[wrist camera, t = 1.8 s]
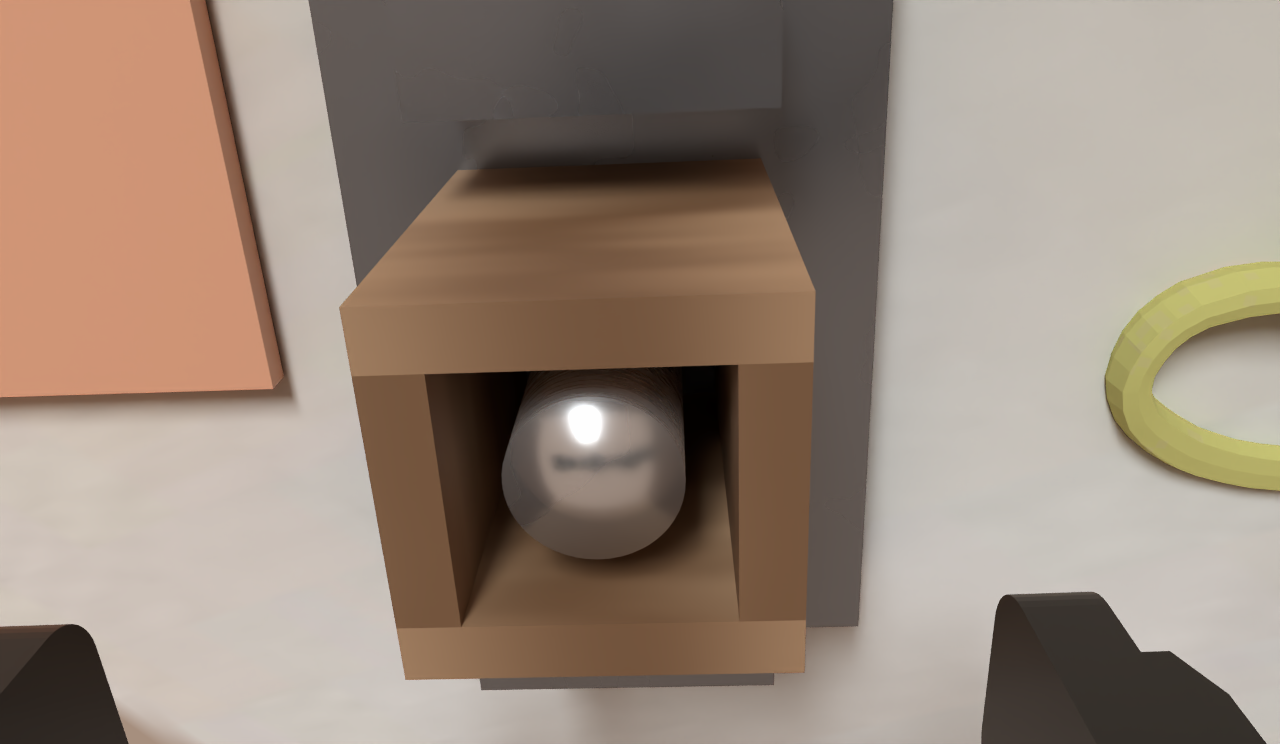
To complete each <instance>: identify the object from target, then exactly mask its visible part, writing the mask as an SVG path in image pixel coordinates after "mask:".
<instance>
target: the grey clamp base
mask: <svg viewBox="0 0 1280 744" xmlns="http://www.w3.org/2000/svg"><path fill="white" fill-rule="evenodd" d="M309 5H310V11H311V17H312V23H313V29H314V35H315V41H316V47H317V53H318V59H319V65H320V71H321V76H322V82H323V88H324V94H325V100H326V106H327V112H328V118H329V124H330V130H331V136H332V142H333V147H334V153H335V159H336V165H337V171H338V177H339V183H340V189H341V195H342V201H343V207H344V213H345V219H346V224H347V230H348V236H349V242H350V248H351V254H352V260H353V266H354V272H355V278H356V284H357V286H358V285H359V284H360V283H361V282H362V280H363V279H364V278H365V277H366V276H367V275H368V274H369V272H370V271H371V270H372V269H373V268H374V267H375V265H376V264H377V263H378V262H379V261H380V260H381V258H382V257H383V256H384V255H385V254H386V253H387V251H388V250H389V249H390V248H391V247H392V246H393V245H394V243H395V242H396V241H397V240H398V239H399V238H400V236H401V235H402V234H403V233H404V232H405V231H406V229H407V228H408V227H409V226H410V225H411V224H412V222H413V221H414V220H415V219H416V218H417V217H418V216H419V214H420V213H421V212H422V211H423V210H424V209H425V207H426V206H427V205H428V204H429V203H430V202H431V200H432V199H433V198H434V197H435V196H436V195H437V193H438V192H439V191H440V190H441V189H442V188H443V186H444V185H445V184H446V183H447V182H448V181H449V180H450V178H451V177H452V176H453V175H454V174H455V173H456V171H457V170H477V169H503V168H528V167H554V166H580V165H605V164H631V163H657V162H683V161H708V160H734V159H760V158H761V160H762V162H763V164H764V167H765V169H766V172H767V174H768V177H769V179H770V181H771V184H772V186H773V189H774V191H775V194H776V196H777V199H778V201H779V203H780V206H781V208H782V211H783V213H784V216H785V218H786V220H787V223H788V225H789V228H790V230H791V233H792V235H793V238H794V240H795V242H796V245H797V247H798V250H799V252H800V255H801V257H802V259H803V262H804V264H805V267H806V269H807V272H808V274H809V277H810V279H811V281H812V284H813V286H814V289H815V291H816V296H815V330H814V364H813V398H812V432H811V466H810V500H809V534H808V568H807V602H806V627H843V626H858V620H859V602H860V584H861V566H862V548H863V530H864V512H865V495H866V477H867V459H868V441H869V423H870V405H871V387H872V369H873V352H874V334H875V316H876V298H877V280H878V262H879V244H880V226H881V209H882V191H883V173H884V155H885V137H886V119H887V101H888V83H889V66H890V48H891V30H892V12H893V0H309ZM526 379H527V385H526V388H525V392H524V395H523V398H522V401H521V405H520V408H519V411H518V414H517V418H516V421H515V424H514V427H513V431H512V434H511V437H510V441H509V444H508V447H507V450H506V454H505V457H504V461H503V466H502V487H503V493H504V497H505V500H506V502H507V505H508V507H509V509H510V511H511V513H512V515H513V516H514V518H515V519H516V521H517V522H518V524H519V525H520V526H521V527H522V528H523V529H524V530H525V531H526V532H527V533H528V534H529V535H530V536H532V537H533V538H534V539H535V540H537V541H538V542H540V543H541V544H543V545H544V546H546V547H548V548H550V549H552V550H554V551H557V552H559V553H562V554H565V555H568V556H572V557H577V558H584V559H611V558H616V557H621V556H625V555H628V554H631V553H634V552H636V551H638V550H640V549H643V548H644V547H646V546H648V545H649V544H651V543H653V542H654V541H655V540H656V539H658V538H659V537H660V536H661V535H662V534H663V533H664V532H665V531H666V530H667V529H668V528H669V527H670V525H671V524H672V523H673V521H674V520H675V518H676V516H677V514H678V513H679V511H680V508H681V505H682V502H683V499H684V494H685V483H686V476H685V447H684V418H683V393H713V392H715V365H707V366H675V367H642V368H609V369H577V370H544V371H526ZM480 683H481V690H512V689H568V688H625V687H681V686H738V685H774V673H750V674H695V675H641V676H586V677H531V678H480Z"/></svg>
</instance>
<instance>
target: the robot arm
mask: <svg viewBox="0 0 1280 744" xmlns="http://www.w3.org/2000/svg"><path fill="white" fill-rule="evenodd" d="M0 744H128V741H127V738H126V735H125V732H124V729H123V726H122V723H121V720H120V717H119V714H118V711H117V708H116V705H115V702H114V699H113V696H112V693H111V690H110V687H109V684H108V681H107V678H106V675H105V672H104V669H103V666H102V663H101V660H100V657H99V654H98V651H97V648H96V646H95V643H94V641H93V639H92V637H91V636H90V634H89V633H88V632H87V631H86V630H85V629H84V628H82V627H81V626H79V625H74V624H65V625H36V626H7V627H0ZM981 744H1266V742H1265V741H1264V740H1263V738H1262V737H1261V736H1260V735H1259V733H1258V732H1257V731H1256V729H1255V728H1254V727H1253V725H1252V724H1251V723H1250V721H1249V720H1248V719H1247V717H1246V716H1245V715H1244V714H1243V712H1242V711H1241V710H1240V708H1239V707H1238V706H1237V704H1236V703H1235V702H1234V700H1233V699H1232V698H1231V696H1230V695H1229V694H1228V693H1226V692H1225V691H1224V690H1222V689H1221V688H1219V687H1218V686H1217V685H1215V684H1214V683H1213V682H1211V681H1210V680H1209V679H1207V678H1206V677H1204V676H1203V675H1202V674H1200V673H1199V672H1198V671H1196V670H1195V669H1194V668H1192V667H1191V666H1189V665H1188V664H1187V663H1185V662H1184V661H1183V660H1181V659H1180V658H1179V657H1177V656H1176V655H1174V654H1173V653H1172V652H1170V651H1161V652H1140V650H1139V649H1138V647H1137V646H1136V644H1135V643H1134V641H1133V640H1132V639H1131V637H1130V636H1129V634H1128V633H1127V631H1126V630H1125V628H1124V627H1123V625H1122V624H1121V622H1120V621H1119V620H1118V618H1117V617H1116V615H1115V614H1114V612H1113V611H1112V609H1111V608H1110V606H1109V605H1108V604H1107V602H1106V601H1105V600H1104V599H1103V598H1102V597H1101V596H1100V595H1099V594H1097V593H1095V592H1071V593H1042V594H1013V595H1005V596H1003V597H1002V598H1001V599H1000V601H999V604H998V606H997V610H996V615H995V622H994V631H993V639H992V648H991V656H990V664H989V673H988V681H987V690H986V698H985V706H984V715H983V723H982V736H981Z"/></svg>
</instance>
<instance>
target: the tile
mask: <svg viewBox="0 0 1280 744" xmlns="http://www.w3.org/2000/svg"><path fill="white" fill-rule="evenodd" d="M283 377H284V375H283V370H282V365H281V361H280V356H279V351H278V346H277V341H276V337H275V332H274V327H273V322H272V317H271V313H270V308H269V303H268V298H267V294H266V289H265V284H264V279H263V274H262V270H261V265H260V260H259V255H258V250H257V246H256V241H255V236H254V231H253V226H252V222H251V217H250V212H249V207H248V203H247V198H246V193H245V188H244V183H243V179H242V174H241V169H240V164H239V159H238V155H237V150H236V145H235V140H234V135H233V131H232V126H231V121H230V116H229V112H228V107H227V102H226V97H225V92H224V88H223V83H222V78H221V73H220V68H219V64H218V59H217V54H216V49H215V44H214V40H213V35H212V30H211V25H210V21H209V16H208V11H207V6H206V1H205V0H0V397H24V396H57V395H90V394H123V393H156V392H189V391H222V390H255V389H274V387H275V386H276V385H277V384H278V383H279V382H280V380H281V379H282V378H283Z"/></svg>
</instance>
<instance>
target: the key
mask: <svg viewBox="0 0 1280 744" xmlns="http://www.w3.org/2000/svg"><path fill="white" fill-rule="evenodd" d="M1279 313H1280V262H1257V263H1250V264H1243V265H1236V266H1229V267H1223V268H1220V269H1217V270H1214V271H1211V272H1208V273H1205V274H1202V275H1199V276H1196V277H1193V278H1190V279H1187V280H1184V281H1181V282H1178V283H1177V284H1175V285H1173V286H1172V287H1170V288H1169V289H1167V290H1165V291H1164V292H1162V293H1161V294H1159V295H1157V296H1156V297H1155V298H1153V299H1152V300H1151V301H1150V302H1149V303H1147V304H1146V305H1145V306H1144V307H1143V308H1141V309H1140V310H1139V311H1138V312H1137V313H1136V314H1135V316H1134V317H1133V318H1132V319H1131V321H1130V322H1129V323H1128V324H1127V326H1126V327H1125V328H1124V329H1123V331H1122V333H1121V335H1120V337H1119V339H1118V341H1117V343H1116V345H1115V347H1114V349H1113V351H1112V353H1111V357H1110V360H1109V364H1108V367H1107V370H1106V374H1105V381H1106V395H1107V400H1108V403H1109V406H1110V409H1111V411H1112V414H1113V417H1114V420H1115V421H1116V422H1117V424H1118V425H1119V426H1120V427H1121V429H1122V430H1123V431H1124V432H1125V434H1126V435H1127V436H1128V437H1129V438H1130V439H1132V440H1133V441H1134V442H1135V443H1136V444H1138V445H1139V446H1140V447H1141V448H1142V449H1144V450H1145V451H1146V452H1148V453H1149V454H1151V455H1153V456H1154V457H1156V458H1158V459H1159V460H1161V461H1162V462H1164V463H1166V464H1168V465H1170V466H1172V467H1175V468H1177V469H1180V470H1182V471H1184V472H1187V473H1190V474H1192V475H1195V476H1199V477H1202V478H1206V479H1210V480H1214V481H1218V482H1222V483H1226V484H1232V485H1237V486H1242V487H1248V488H1256V489H1267V490H1278V491H1280V446H1278V445H1268V444H1259V443H1253V442H1247V441H1242V440H1236V439H1232V438H1229V437H1226V436H1223V435H1220V434H1217V433H1213V432H1211V431H1208V430H1205V429H1202V428H1199V427H1197V426H1195V425H1194V424H1192V423H1190V422H1188V421H1187V420H1185V419H1183V418H1181V417H1180V416H1178V415H1177V414H1175V413H1174V412H1172V411H1171V410H1169V409H1168V408H1166V407H1165V406H1164V405H1163V404H1161V403H1160V402H1159V401H1158V400H1157V399H1156V398H1154V396H1153V394H1152V386H1153V382H1154V378H1155V376H1156V374H1157V373H1158V371H1159V369H1160V368H1161V366H1162V365H1163V363H1164V362H1165V361H1166V360H1167V358H1168V357H1169V356H1170V355H1171V354H1172V353H1173V351H1174V350H1175V349H1176V348H1178V347H1179V346H1180V345H1181V344H1183V343H1184V342H1185V341H1186V340H1188V339H1189V338H1190V337H1192V336H1194V335H1196V334H1198V333H1200V332H1202V331H1204V330H1206V329H1208V328H1210V327H1214V326H1218V325H1221V324H1225V323H1229V322H1233V321H1237V320H1241V319H1245V318H1248V317H1255V316H1263V315H1271V314H1279Z"/></svg>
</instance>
